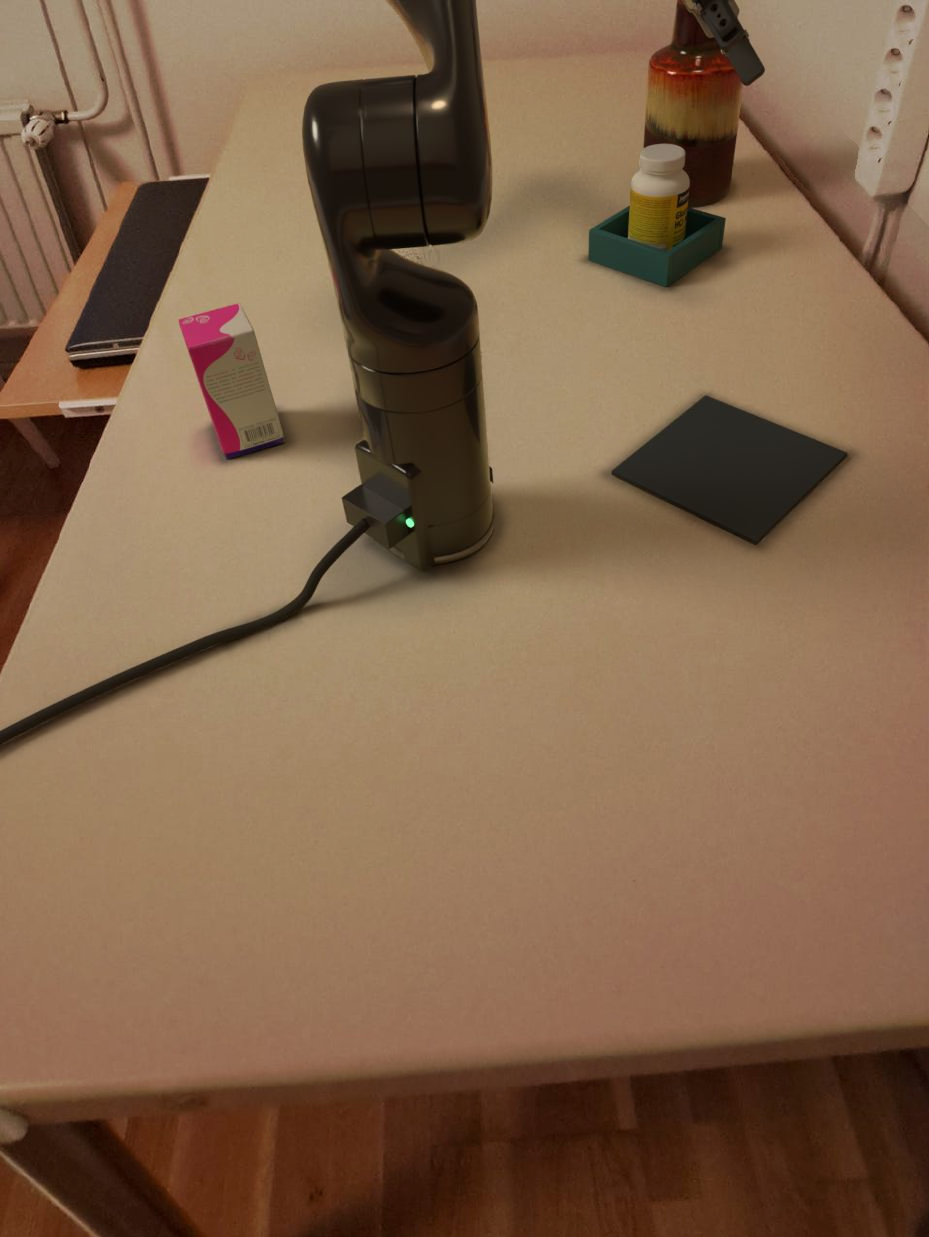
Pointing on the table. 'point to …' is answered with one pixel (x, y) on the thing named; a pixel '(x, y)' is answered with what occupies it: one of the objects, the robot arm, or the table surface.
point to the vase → (695, 106)
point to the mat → (730, 467)
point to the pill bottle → (659, 197)
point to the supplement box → (232, 379)
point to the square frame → (650, 261)
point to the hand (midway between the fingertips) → (745, 61)
